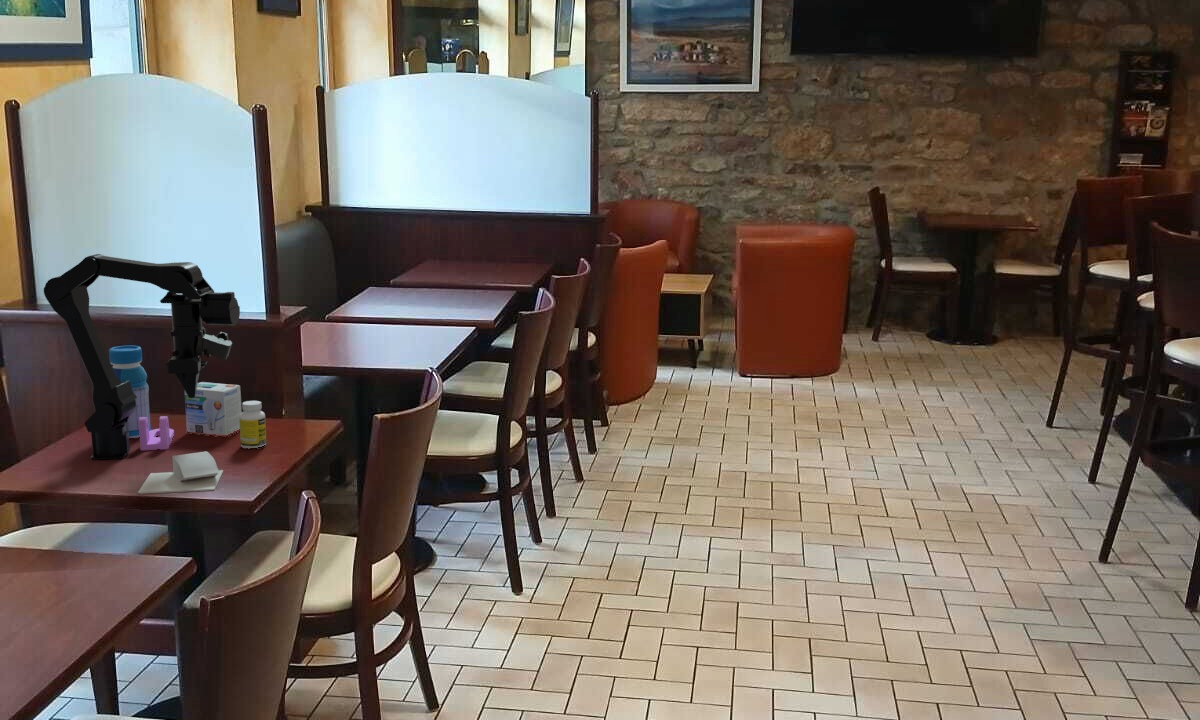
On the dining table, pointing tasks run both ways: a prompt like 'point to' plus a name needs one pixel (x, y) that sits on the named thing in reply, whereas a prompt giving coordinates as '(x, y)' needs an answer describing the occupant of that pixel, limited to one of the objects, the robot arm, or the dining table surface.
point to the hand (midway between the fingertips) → (192, 397)
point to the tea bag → (194, 466)
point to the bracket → (155, 434)
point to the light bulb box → (214, 409)
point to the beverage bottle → (132, 382)
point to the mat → (177, 483)
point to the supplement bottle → (252, 425)
